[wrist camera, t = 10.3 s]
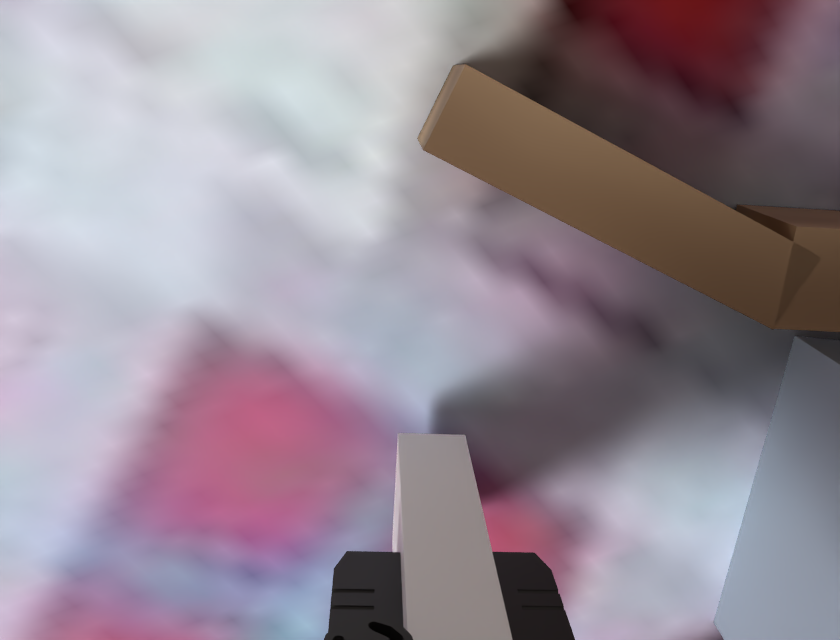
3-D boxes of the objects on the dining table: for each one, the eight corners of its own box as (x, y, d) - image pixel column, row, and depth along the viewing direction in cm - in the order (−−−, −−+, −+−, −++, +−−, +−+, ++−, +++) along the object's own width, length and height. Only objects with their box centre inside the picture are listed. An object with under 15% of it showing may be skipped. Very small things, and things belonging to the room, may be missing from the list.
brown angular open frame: (421, 63, 15) (431, 61, 12) (1274, 125, 16) (1462, 135, 14) (375, 780, 21) (374, 890, 18) (1009, 788, 22) (1101, 893, 19)
